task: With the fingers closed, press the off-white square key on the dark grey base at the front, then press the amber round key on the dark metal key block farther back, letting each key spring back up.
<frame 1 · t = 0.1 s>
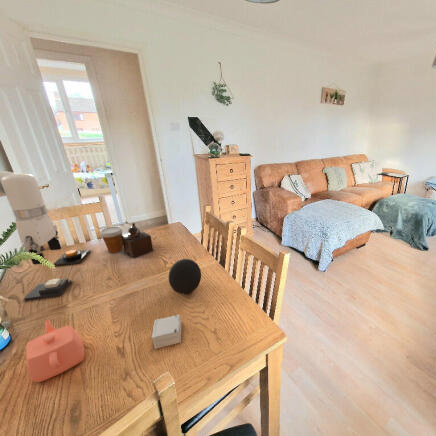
hand: (48, 256, 86), 20 cm above the table, tool pointing down, fingers open, 9 cm apart
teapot: (60, 361, 70), on the table
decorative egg: (187, 291, 101), on the table
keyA: (53, 283, 96), point 3 cm above the table, slide at 0.1 cm
brown coffee grinder: (140, 253, 127), on the table
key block: (73, 258, 119), on the table
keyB: (71, 253, 118), point 3 cm above the table, slide at 0.1 cm
small box: (168, 337, 80), on the table
dark grey base: (49, 291, 97), on the table
disposable coffee cup: (116, 250, 128), on the table
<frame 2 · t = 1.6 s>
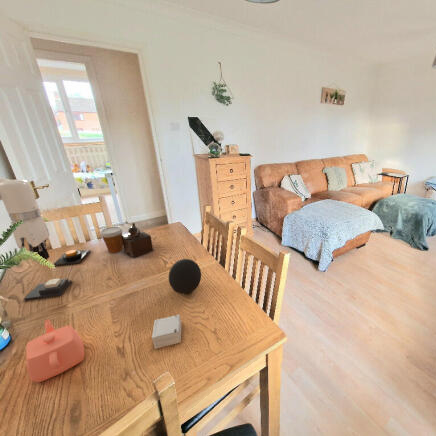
hand: (43, 258, 92), 15 cm above the table, tool pointing down, fingers closed
nothing on the table moved.
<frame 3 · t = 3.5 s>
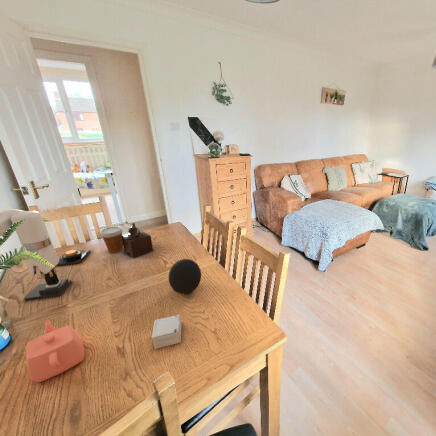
hand: (53, 283, 96), 3 cm above the table, tool pointing down, fingers closed
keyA: (53, 285, 97), point 3 cm above the table, slide at -0.9 cm, touching gripper
everything else where it was.
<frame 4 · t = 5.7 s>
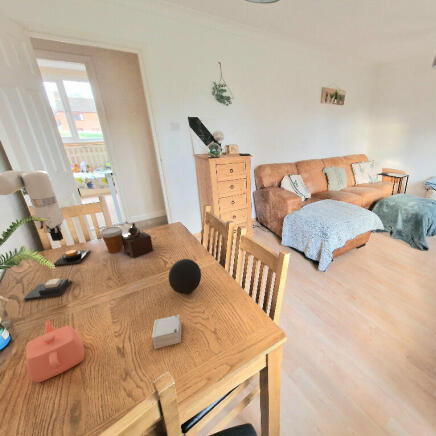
hand: (58, 239, 106), 15 cm above the table, tool pointing down, fingers closed
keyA: (53, 283, 96), point 3 cm above the table, slide at 0.1 cm
everything else where it was.
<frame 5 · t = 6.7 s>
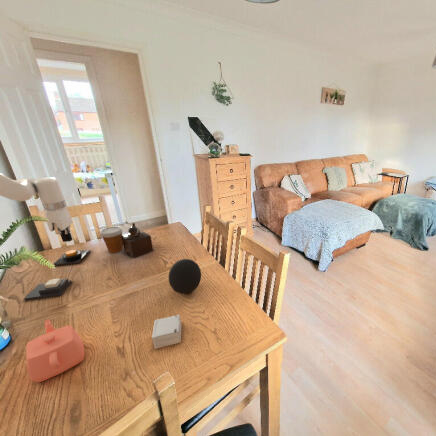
hand: (67, 240, 115), 10 cm above the table, tool pointing down, fingers closed
nothing on the table moved.
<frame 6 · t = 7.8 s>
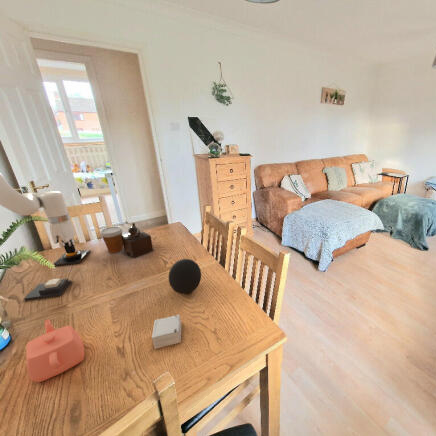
hand: (71, 252, 118), 4 cm above the table, tool pointing down, fingers closed
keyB: (71, 253, 118), point 3 cm above the table, slide at -0.2 cm, touching gripper
everything else where it was.
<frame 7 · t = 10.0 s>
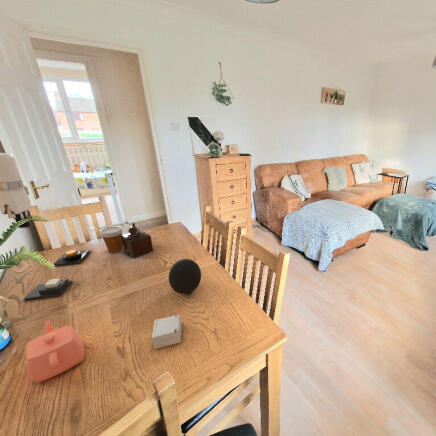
hand: (24, 226, 102), 22 cm above the table, tool pointing down, fingers closed
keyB: (71, 253, 118), point 3 cm above the table, slide at 0.1 cm
everything else where it was.
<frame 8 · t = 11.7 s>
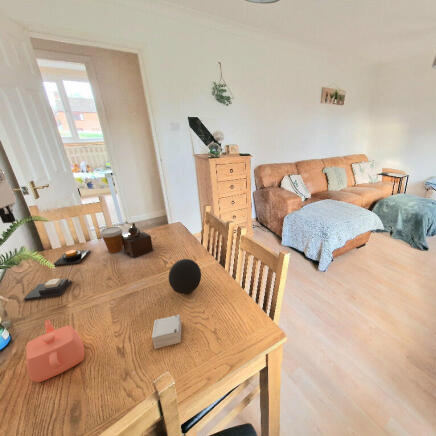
hand: (9, 222, 97), 25 cm above the table, tool pointing down, fingers closed
nothing on the table moved.
at the end: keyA pushed in 1.1 cm at the most during the clip, back to where it started at the end; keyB pushed in 0.9 cm at the most during the clip, back to where it started at the end; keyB slide at 0.1 cm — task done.
